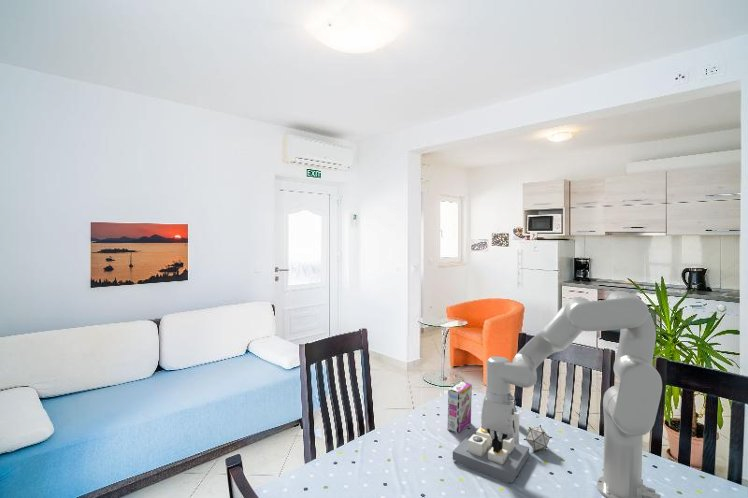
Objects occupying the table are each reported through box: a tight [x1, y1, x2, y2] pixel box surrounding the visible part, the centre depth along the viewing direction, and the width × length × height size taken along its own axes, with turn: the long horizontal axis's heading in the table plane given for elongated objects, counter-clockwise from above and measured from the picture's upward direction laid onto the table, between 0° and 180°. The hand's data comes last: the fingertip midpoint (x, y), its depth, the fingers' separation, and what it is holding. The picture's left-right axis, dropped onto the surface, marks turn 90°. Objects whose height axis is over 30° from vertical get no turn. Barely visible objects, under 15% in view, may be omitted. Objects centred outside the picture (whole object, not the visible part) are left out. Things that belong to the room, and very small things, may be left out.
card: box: [497, 412, 520, 444], centre depth 142 cm, size 10×3×12 cm, turn 53°
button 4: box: [502, 438, 514, 455], centre depth 131 cm, size 5×5×5 cm
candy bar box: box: [447, 381, 473, 434], centre depth 152 cm, size 11×5×16 cm, turn 139°
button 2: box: [468, 434, 487, 457], centre depth 130 cm, size 5×5×5 cm
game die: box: [523, 424, 553, 454], centre depth 136 cm, size 9×8×10 cm
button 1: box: [476, 426, 492, 448], centre depth 135 cm, size 5×5×5 cm
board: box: [452, 429, 530, 484], centre depth 131 cm, size 20×18×4 cm
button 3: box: [488, 447, 508, 465], centre depth 126 cm, size 5×5×5 cm
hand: (497, 450), depth 126 cm, fingers closed
